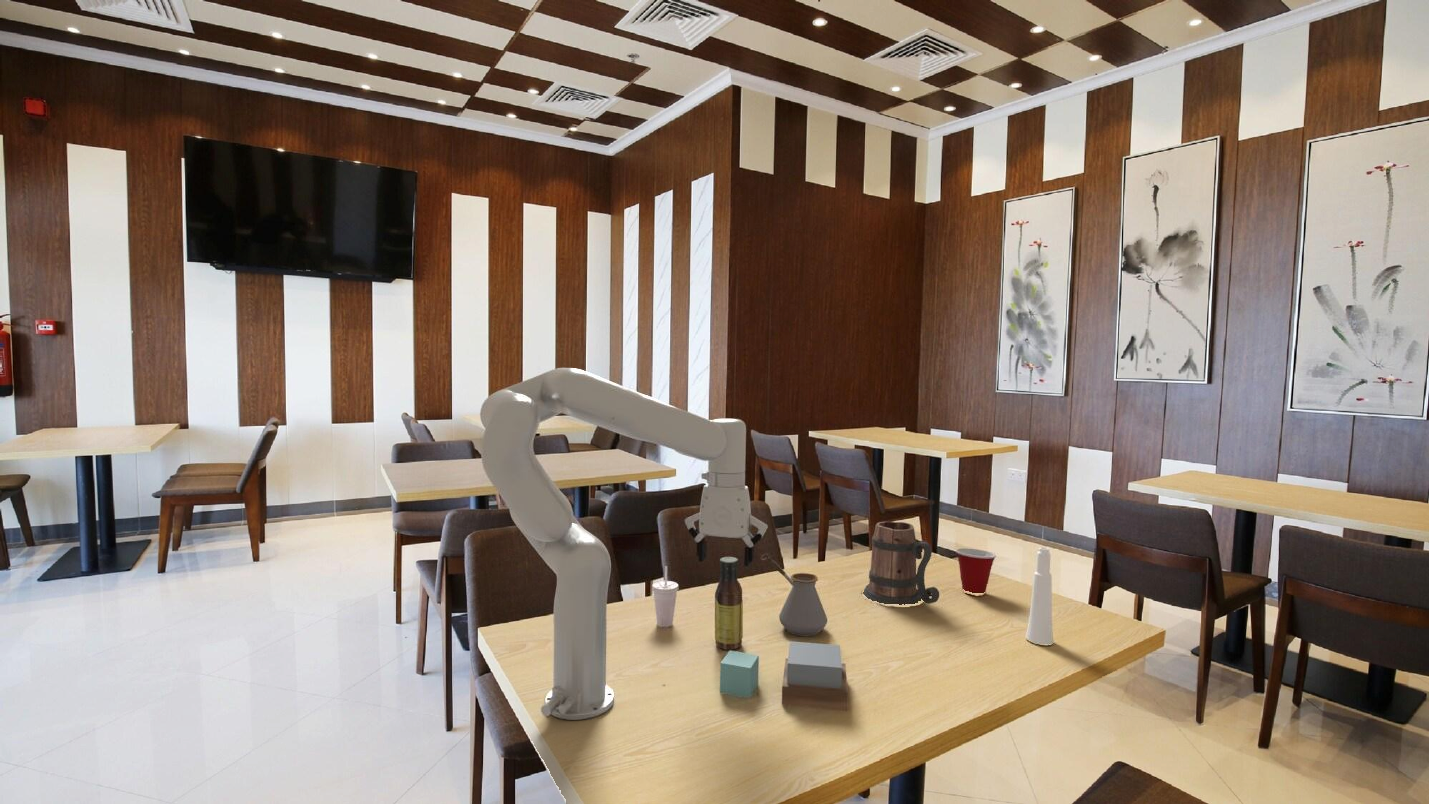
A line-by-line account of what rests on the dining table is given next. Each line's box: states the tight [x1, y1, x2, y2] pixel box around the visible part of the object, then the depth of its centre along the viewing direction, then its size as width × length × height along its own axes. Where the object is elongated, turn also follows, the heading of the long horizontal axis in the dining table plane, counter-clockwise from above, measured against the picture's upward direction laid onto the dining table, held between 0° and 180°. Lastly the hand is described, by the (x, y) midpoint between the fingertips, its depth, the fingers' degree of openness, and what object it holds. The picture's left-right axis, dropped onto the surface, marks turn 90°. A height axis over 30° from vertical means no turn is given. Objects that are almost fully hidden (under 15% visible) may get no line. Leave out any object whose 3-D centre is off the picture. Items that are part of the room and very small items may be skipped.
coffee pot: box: [760, 552, 828, 637], centre depth 163 cm, size 21×12×15 cm, turn 34°
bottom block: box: [781, 657, 849, 712], centre depth 129 cm, size 12×12×4 cm
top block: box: [787, 640, 843, 689], centre depth 129 cm, size 10×10×4 cm
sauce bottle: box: [714, 556, 744, 651], centre depth 149 cm, size 7×6×20 cm
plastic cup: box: [955, 547, 997, 593], centre depth 188 cm, size 11×11×12 cm
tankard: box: [863, 521, 940, 605], centre depth 180 cm, size 24×17×20 cm
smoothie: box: [651, 565, 680, 628], centre depth 161 cm, size 6×6×14 cm
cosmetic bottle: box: [1025, 546, 1055, 645], centre depth 155 cm, size 6×6×22 cm
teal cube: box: [719, 650, 760, 699], centre depth 130 cm, size 6×6×6 cm
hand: (724, 562), depth 136 cm, fingers open, 9 cm apart
